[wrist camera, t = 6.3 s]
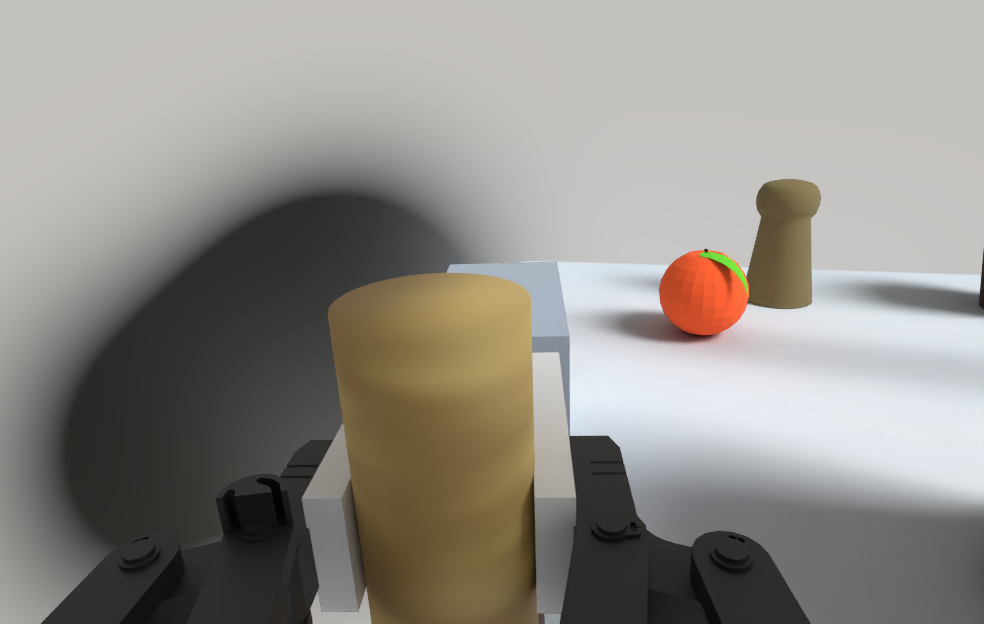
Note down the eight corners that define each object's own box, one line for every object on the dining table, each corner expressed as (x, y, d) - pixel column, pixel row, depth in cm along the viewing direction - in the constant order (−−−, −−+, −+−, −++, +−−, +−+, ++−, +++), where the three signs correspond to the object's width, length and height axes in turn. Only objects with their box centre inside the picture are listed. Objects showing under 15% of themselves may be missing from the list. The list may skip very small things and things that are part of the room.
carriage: (591, 652, 20) (597, 233, 16) (628, 982, 13) (663, 370, 8) (380, 649, 21) (324, 241, 16) (299, 967, 13) (146, 378, 9)
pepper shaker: (825, 299, 58) (842, 179, 54) (786, 313, 55) (802, 188, 51) (766, 284, 63) (779, 173, 59) (728, 296, 59) (739, 181, 56)
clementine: (775, 341, 49) (785, 254, 47) (709, 360, 46) (717, 269, 44) (700, 312, 56) (706, 235, 54) (639, 327, 53) (643, 246, 51)
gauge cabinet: (557, 385, 43) (556, 261, 40) (569, 500, 31) (569, 336, 28) (450, 387, 44) (441, 264, 41) (422, 500, 32) (406, 339, 29)
